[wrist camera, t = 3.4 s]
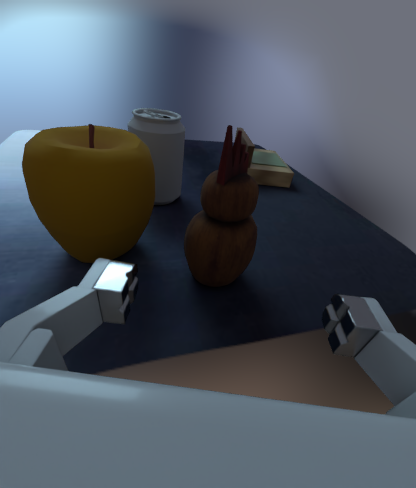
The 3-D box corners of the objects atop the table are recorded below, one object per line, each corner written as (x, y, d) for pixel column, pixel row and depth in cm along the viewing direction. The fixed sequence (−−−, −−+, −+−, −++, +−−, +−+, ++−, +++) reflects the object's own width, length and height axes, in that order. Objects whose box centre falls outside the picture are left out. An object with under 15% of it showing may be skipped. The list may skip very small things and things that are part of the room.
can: (184, 207, 37) (191, 120, 30) (132, 208, 35) (127, 115, 28) (176, 186, 43) (180, 109, 36) (131, 185, 41) (126, 103, 34)
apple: (130, 296, 23) (119, 156, 15) (22, 271, 23) (-42, 124, 16) (168, 233, 32) (172, 123, 24) (88, 215, 32) (67, 104, 25)
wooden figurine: (200, 304, 23) (229, 135, 14) (173, 266, 27) (183, 112, 18) (254, 282, 26) (306, 134, 17) (224, 251, 30) (254, 115, 21)
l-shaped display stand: (271, 163, 60) (280, 133, 56) (289, 187, 49) (301, 152, 45) (231, 158, 59) (237, 127, 55) (240, 182, 48) (248, 145, 44)
